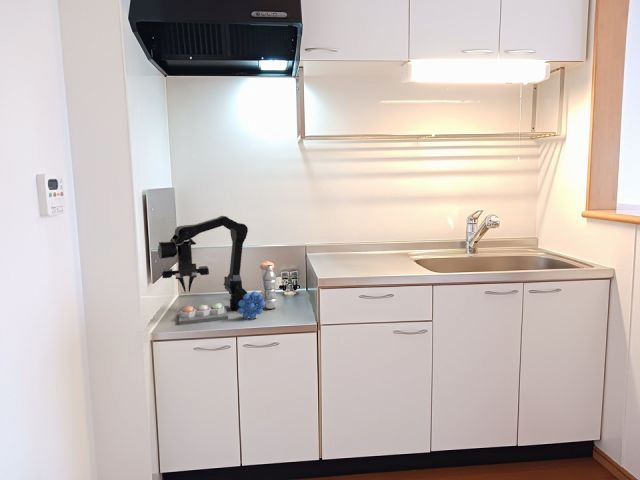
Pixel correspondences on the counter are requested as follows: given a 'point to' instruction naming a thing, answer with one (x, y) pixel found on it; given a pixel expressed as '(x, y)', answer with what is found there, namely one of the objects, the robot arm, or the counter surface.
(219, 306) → the sage button
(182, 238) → the robot arm
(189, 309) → the terracotta button
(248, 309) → the grapes
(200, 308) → the grey button
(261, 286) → the pepper shaker
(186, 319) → the button panel
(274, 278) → the plastic bottle
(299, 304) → the counter surface
